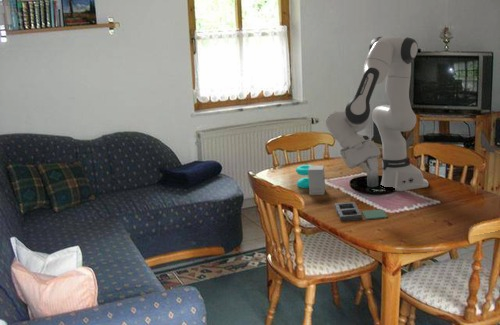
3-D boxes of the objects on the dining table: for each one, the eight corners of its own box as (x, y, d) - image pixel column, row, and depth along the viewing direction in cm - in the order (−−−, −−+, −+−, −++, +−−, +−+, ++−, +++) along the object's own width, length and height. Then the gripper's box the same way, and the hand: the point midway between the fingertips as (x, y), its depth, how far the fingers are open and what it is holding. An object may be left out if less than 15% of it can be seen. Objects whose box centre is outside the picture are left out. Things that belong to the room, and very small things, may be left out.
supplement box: (324, 194, 285) (323, 169, 282) (309, 195, 287) (307, 170, 284) (325, 189, 292) (324, 165, 289) (310, 190, 294) (309, 165, 291)
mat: (382, 210, 258) (382, 209, 258) (387, 217, 249) (387, 216, 249) (361, 212, 258) (361, 211, 258) (365, 219, 249) (365, 218, 249)
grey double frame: (354, 205, 267) (354, 201, 266) (361, 219, 250) (361, 214, 250) (334, 207, 267) (334, 203, 266) (340, 221, 250) (340, 216, 250)
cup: (377, 183, 252) (376, 155, 249) (379, 186, 248) (378, 158, 245) (366, 184, 252) (365, 156, 249) (368, 187, 248) (367, 159, 245)
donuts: (291, 167, 300) (307, 163, 305) (293, 186, 303) (308, 181, 308) (303, 171, 292) (319, 166, 297) (305, 190, 295) (320, 185, 300)
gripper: (342, 145, 243) (363, 171, 239) (370, 134, 257) (391, 159, 253) (334, 155, 247) (354, 180, 243) (362, 143, 261) (382, 168, 257)
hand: (373, 169), depth 248 cm, fingers closed on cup, 5 cm apart
